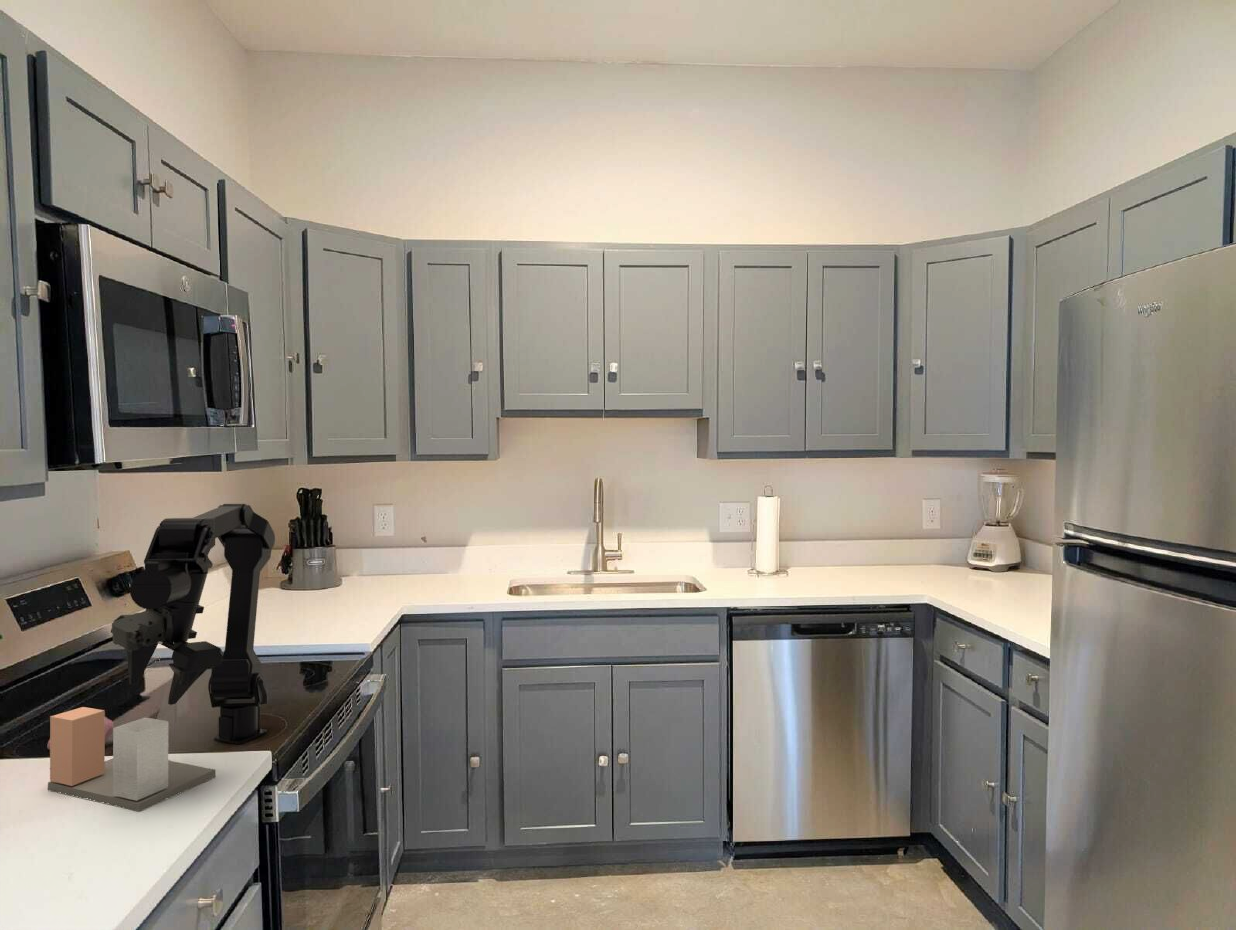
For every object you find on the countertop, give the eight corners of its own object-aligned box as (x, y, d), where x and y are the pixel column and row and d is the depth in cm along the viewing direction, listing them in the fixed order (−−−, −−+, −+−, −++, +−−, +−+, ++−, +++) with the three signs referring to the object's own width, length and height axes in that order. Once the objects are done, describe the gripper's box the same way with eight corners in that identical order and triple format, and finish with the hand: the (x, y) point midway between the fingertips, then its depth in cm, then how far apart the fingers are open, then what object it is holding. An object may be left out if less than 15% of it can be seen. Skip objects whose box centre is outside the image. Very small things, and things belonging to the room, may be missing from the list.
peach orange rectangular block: (82, 768, 121) (83, 706, 121) (104, 773, 119) (104, 710, 119) (50, 780, 116) (50, 716, 116) (71, 785, 114) (72, 720, 114)
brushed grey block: (144, 782, 116) (145, 717, 116) (168, 786, 114) (168, 721, 114) (113, 795, 111) (113, 727, 111) (136, 800, 109) (137, 732, 109)
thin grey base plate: (128, 759, 128) (128, 752, 128) (215, 776, 121) (215, 769, 121) (47, 790, 116) (47, 782, 116) (139, 811, 109) (139, 803, 109)
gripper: (91, 581, 114) (62, 680, 114) (172, 618, 107) (141, 725, 106) (159, 580, 124) (132, 671, 124) (237, 614, 117) (209, 711, 117)
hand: (152, 693), depth 117 cm, fingers open, 9 cm apart
